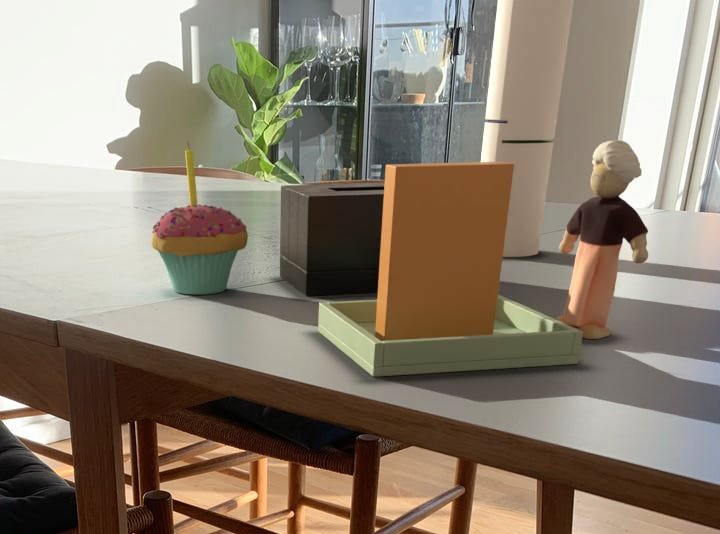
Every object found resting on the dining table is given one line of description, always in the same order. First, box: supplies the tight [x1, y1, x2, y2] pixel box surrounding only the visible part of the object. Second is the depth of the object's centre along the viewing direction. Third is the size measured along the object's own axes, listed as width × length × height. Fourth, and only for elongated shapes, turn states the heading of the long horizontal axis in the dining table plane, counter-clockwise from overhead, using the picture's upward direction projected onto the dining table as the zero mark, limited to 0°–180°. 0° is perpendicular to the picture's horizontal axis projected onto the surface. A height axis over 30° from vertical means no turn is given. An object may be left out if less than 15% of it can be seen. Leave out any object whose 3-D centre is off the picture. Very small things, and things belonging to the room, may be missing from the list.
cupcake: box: [151, 139, 249, 296], centre depth 83 cm, size 9×8×12 cm
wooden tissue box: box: [279, 182, 385, 297], centre depth 87 cm, size 16×10×8 cm, turn 101°
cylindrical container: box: [480, 0, 575, 258], centre depth 97 cm, size 7×7×25 cm
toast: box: [375, 161, 514, 341], centre depth 64 cm, size 8×2×11 cm, turn 101°
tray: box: [317, 294, 583, 378], centre depth 66 cm, size 14×13×2 cm
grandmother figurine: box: [554, 139, 649, 340], centre depth 67 cm, size 8×4×13 cm, turn 40°
